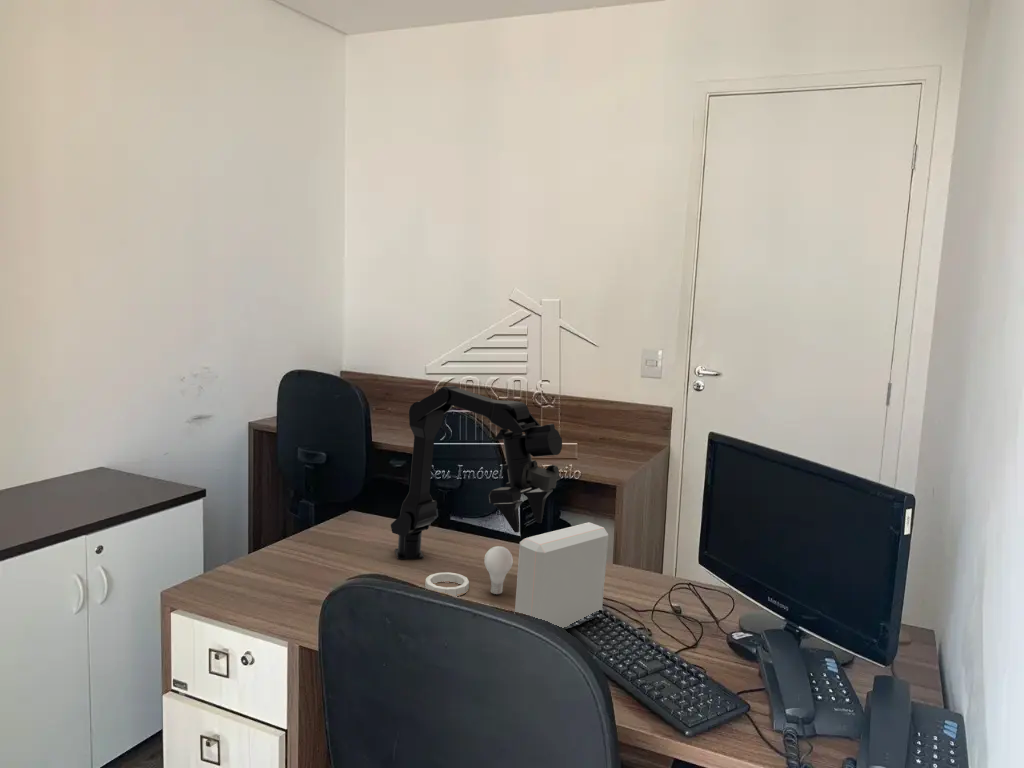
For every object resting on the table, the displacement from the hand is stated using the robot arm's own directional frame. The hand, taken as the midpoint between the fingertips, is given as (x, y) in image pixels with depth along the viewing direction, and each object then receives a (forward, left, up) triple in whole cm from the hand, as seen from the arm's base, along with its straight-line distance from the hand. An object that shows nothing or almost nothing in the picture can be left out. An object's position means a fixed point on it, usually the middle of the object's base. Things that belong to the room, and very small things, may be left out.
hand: (528, 527), depth 168 cm
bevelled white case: (+16, +2, -16) cm, 23 cm away
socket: (-4, -17, -15) cm, 23 cm away
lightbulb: (0, -6, -16) cm, 17 cm away
